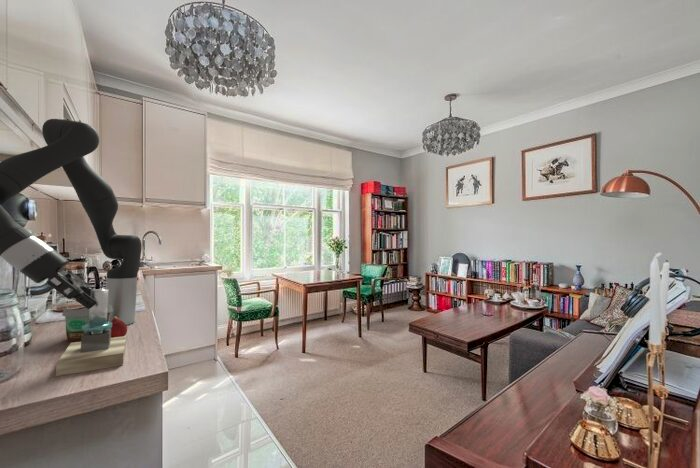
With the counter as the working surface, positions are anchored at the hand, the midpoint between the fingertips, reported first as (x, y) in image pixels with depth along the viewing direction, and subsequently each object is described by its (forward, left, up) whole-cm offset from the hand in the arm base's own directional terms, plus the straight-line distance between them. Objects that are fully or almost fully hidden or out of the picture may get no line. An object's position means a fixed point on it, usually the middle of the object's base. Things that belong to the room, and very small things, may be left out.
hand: (95, 303), depth 77 cm
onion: (-13, +4, -15) cm, 20 cm away
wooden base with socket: (0, +1, -15) cm, 15 cm away
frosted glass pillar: (0, +1, -11) cm, 11 cm away
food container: (-21, -4, -15) cm, 26 cm away
